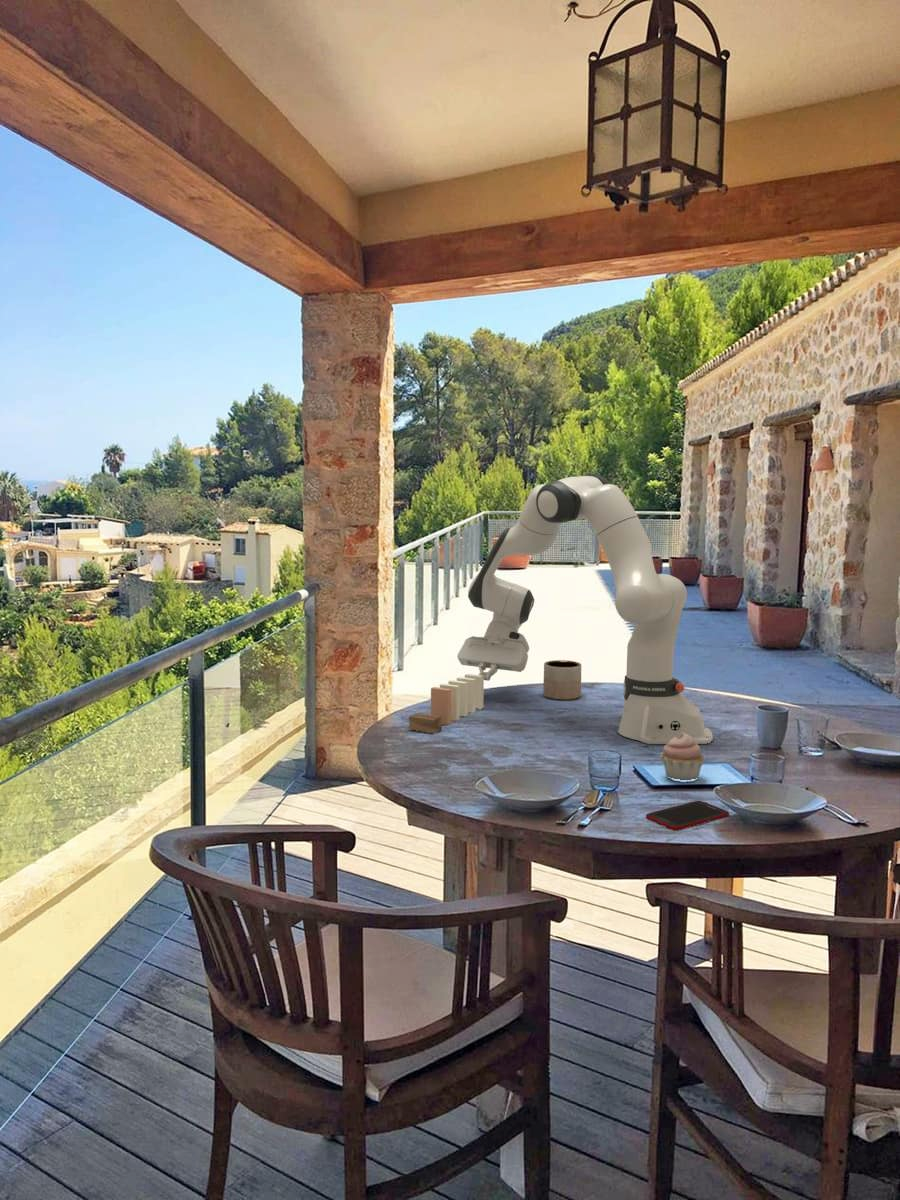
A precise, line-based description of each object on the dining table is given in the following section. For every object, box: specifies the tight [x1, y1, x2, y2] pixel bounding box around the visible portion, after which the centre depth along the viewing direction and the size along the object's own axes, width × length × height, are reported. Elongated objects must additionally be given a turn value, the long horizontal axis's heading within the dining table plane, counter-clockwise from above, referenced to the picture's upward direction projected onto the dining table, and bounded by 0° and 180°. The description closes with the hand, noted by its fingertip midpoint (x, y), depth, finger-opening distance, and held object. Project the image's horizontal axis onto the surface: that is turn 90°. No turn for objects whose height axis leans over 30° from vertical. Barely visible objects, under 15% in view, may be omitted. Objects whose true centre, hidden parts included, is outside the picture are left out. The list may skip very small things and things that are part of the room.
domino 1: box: [430, 686, 452, 726], centre depth 229 cm, size 2×5×9 cm, turn 61°
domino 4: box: [456, 676, 477, 714], centre depth 241 cm, size 2×5×9 cm, turn 61°
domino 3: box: [447, 679, 469, 718], centre depth 237 cm, size 2×5×9 cm, turn 61°
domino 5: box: [464, 673, 485, 710], centre depth 245 cm, size 2×5×9 cm, turn 61°
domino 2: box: [439, 683, 460, 722], centre depth 233 cm, size 2×5×9 cm, turn 61°
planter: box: [542, 659, 582, 701], centre depth 259 cm, size 11×11×10 cm
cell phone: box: [645, 800, 730, 831], centre depth 166 cm, size 8×15×1 cm, turn 122°
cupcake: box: [659, 732, 706, 780], centre depth 187 cm, size 9×9×10 cm
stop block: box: [408, 712, 443, 735], centre depth 223 cm, size 4×7×4 cm, turn 61°
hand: (483, 679), depth 250 cm, fingers closed
